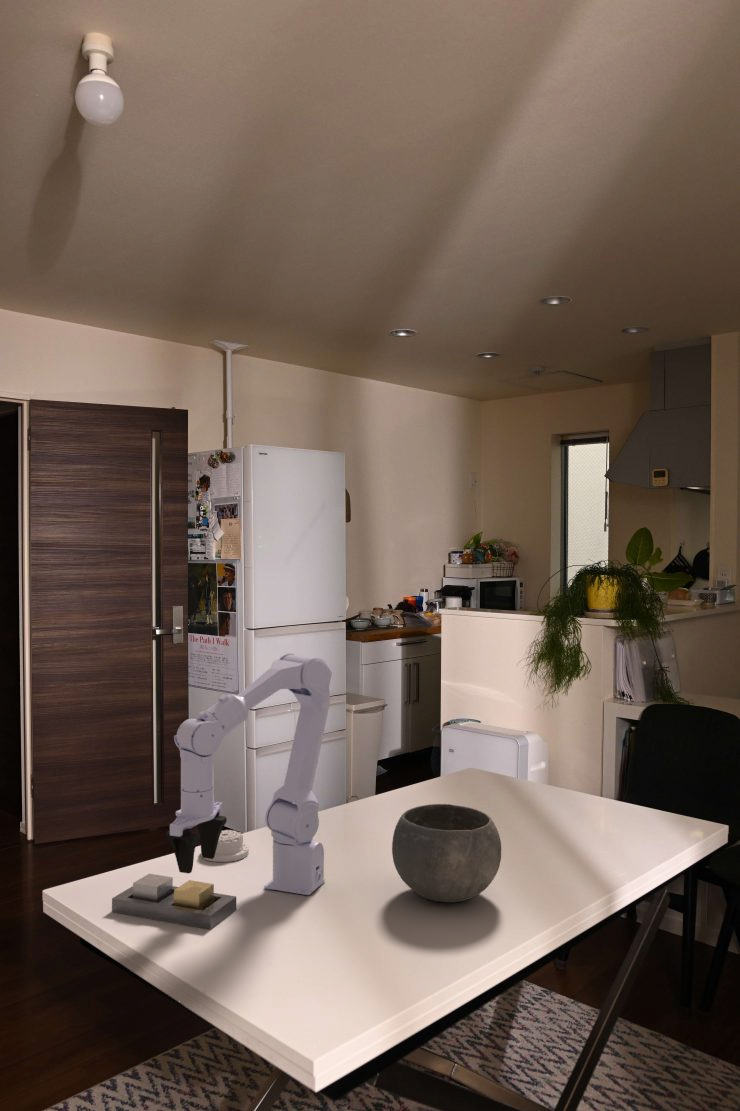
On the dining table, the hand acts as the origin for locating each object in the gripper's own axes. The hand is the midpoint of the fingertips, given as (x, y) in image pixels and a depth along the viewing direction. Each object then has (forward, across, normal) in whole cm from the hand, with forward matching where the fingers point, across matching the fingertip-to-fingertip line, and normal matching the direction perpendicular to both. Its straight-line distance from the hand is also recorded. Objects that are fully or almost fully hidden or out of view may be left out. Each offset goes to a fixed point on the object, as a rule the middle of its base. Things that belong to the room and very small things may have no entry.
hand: (197, 864), depth 159 cm
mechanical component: (+9, -29, -11) cm, 33 cm away
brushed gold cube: (+9, 0, 0) cm, 9 cm away
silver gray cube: (+9, 0, -9) cm, 13 cm away
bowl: (+9, -25, +38) cm, 47 cm away
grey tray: (+9, 0, -5) cm, 10 cm away
